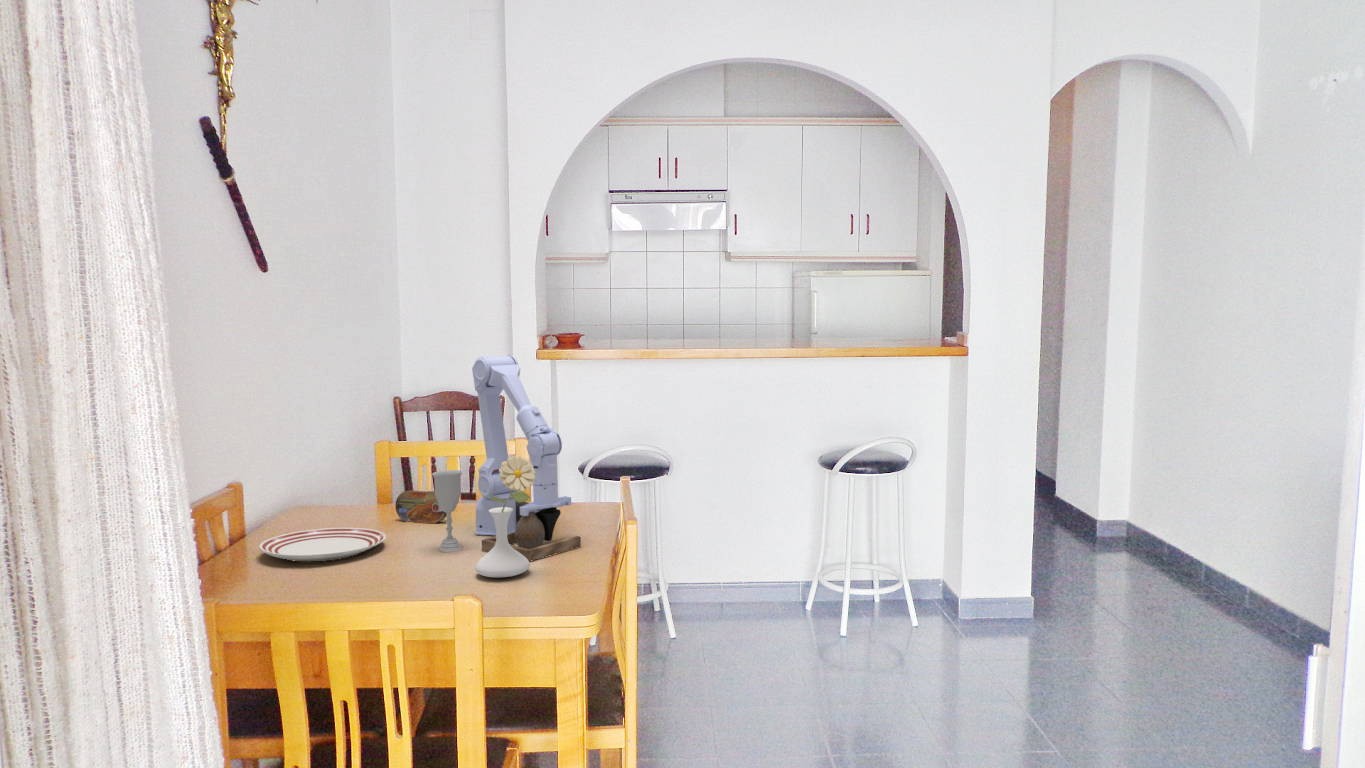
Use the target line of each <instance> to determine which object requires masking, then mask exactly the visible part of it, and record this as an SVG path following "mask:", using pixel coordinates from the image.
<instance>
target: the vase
mask: <svg viewBox="0 0 1365 768" xmlns="http://www.w3.org/2000/svg"><path fill="white" fill-rule="evenodd" d="M544 538H545V529H544V526H543V523H542V522H541V520H540V519H539V518H538V517H537V516H536V514H535V512H534V511H533V512H530V513H529V515H528V516H523V515H522V517H521V519H520V520H519V521H518V523H517V525H516V528H515V540H516V543H515V544H516V546H518V547H522V548H526V549H532V548H535V547H539V546H542V545H544V541H545V540H544Z"/></svg>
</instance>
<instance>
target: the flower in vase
mask: <svg viewBox="0 0 1365 768" xmlns="http://www.w3.org/2000/svg"><path fill="white" fill-rule="evenodd" d="M529 462H530V461H529V460H527V459H526V457H525V458H524V457H523V458H522V457H521V456H518V457H516V456H515V455H513V456H511V457H509V458H508V459H507V461H504V462H502V465H501V470H500V469H499V471H500V480H502V481H503V484H506V488H507V489H509V488H510V489H511V493H510V495H509V497H508V499H507V501H506V503H505V501H504V500H503V499H500V498H496V497H493V496H491V495H490V494H489V495H490V498H491V499H492V500H494V501H498V502H501V503H505V504H504V506H503V507H499V508H493V509H490V510H489V512H490V514H491V515H492V516H493V519H494V522H495V526H496V535H495V536H496V543H495V546H494V547H493V548H492V549H491V550H490V551H489V552H486V553H485V554H484V556H482V557H481V558H480V559H479V560H478V561H477V563H476V564H475V567H474V570H475V572H477V574H478V575H481V576H483V577H487V578H494V579H495V578H499V579H500V578H508V577H515V576H518V575H520V574H524V573H525V572H526V571H527V570H529V568H530V567H531V562H529V561H528V559H527V558H526V557H525V556H523V555H522V554H521V553H519V552H518V551H516V550H515V549H514V548H512V547H511V546H510V545H509V543H508V539H507V524H508V519H509V516H510V514H511V512H512V511H513V509H512V508H508V507H505V506H506V504H507V502H508V501H509V499H510V497H511V496H512V498H513V499H514V500H515V501H516V502H519V503H520V502H526V501H528V500H530V499H531V496H530V495H529V494H528V493H527V492H526V490H527V489H530V488H531V487H532V486H533V485H534V480H533V479H535V475H534V474H535V471H534V469H533V465H531V463H529ZM516 490H517V491H516ZM513 491H516V492H515V493H513V494H512V492H513ZM527 572H528V571H527Z"/></svg>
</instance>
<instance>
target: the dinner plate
mask: <svg viewBox="0 0 1365 768" xmlns="http://www.w3.org/2000/svg"><path fill="white" fill-rule="evenodd" d="M386 538H387V535H386V533H384V532H383V531H380V530H376V529H371V528H363V527H362V528H361V527H327V528H326V527H325V528H315V529H306V530H299V531H293V532H288V533H284V534H280V535H276V536H273V537H271V538H268V539H266V540H263V541H261V542H260V544H259V545H258V547H259V550H260V551H261V552H263V553H264V554H267V555H269V556H271V557H275V558H276V559H277V558H278V559H283V560H285V559H287V560H286V561H288V560H295V561H323V562H325V561H324V560H332V561H334V560H333V559H339V558H344V559H346V558H345V557H348V558H350V557H349V556H352V557H354V556H353V555H355V556H357V555H359V553H360V554H362V553H364V552H366V551H368V550H371V549H372V548H374V547H376V546H377V545H379V544H382V543H383V542H384V541H385V540H386ZM361 552H362V553H361ZM356 554H357V555H356ZM339 560H340V559H339Z"/></svg>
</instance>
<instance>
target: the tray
mask: <svg viewBox="0 0 1365 768" xmlns="http://www.w3.org/2000/svg"><path fill="white" fill-rule="evenodd" d="M581 538H582V537H581V536H579V535H576V536H573V537H567V538H566V539H561V540H558V541H554V542H549V543H547V544H542V545H541V546H539V547H535V548H532V549H526V548H522V547H519V546H518V545H514V544H513V543H515V544H517V543H516V540H515V532H511V533H507V539H508V543H509V544H511V545H510V546H511V547H512V548H514V549H515V550H516V551H518V552H519V553H521V554H522V555H523V556H525V557H526V558H527V559H528V561H531V560H535V559H539V558H542V559H544V558H543V557H545V558H547V557H546V556H549V555H552V556H554V555H553V554H555V553H559V552H563V551H566V550H569V549H572V548H576V547H580V546H581V545H582V544H581V543H582V541H581V540H582V539H581ZM495 543H496V535H494V536H493V537H492V536H491V537H488V538H484V539H481V551H483V552H485V553H488V552H489V551H490V550H491V549H492V548H493V547H494V546H495ZM581 547H582V546H581ZM581 547H580V548H581ZM576 549H577V548H576ZM569 551H570V550H569ZM566 552H567V551H566ZM563 553H564V552H563ZM559 554H560V553H559ZM549 557H550V556H549ZM539 560H540V559H539ZM535 561H536V560H535Z"/></svg>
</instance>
